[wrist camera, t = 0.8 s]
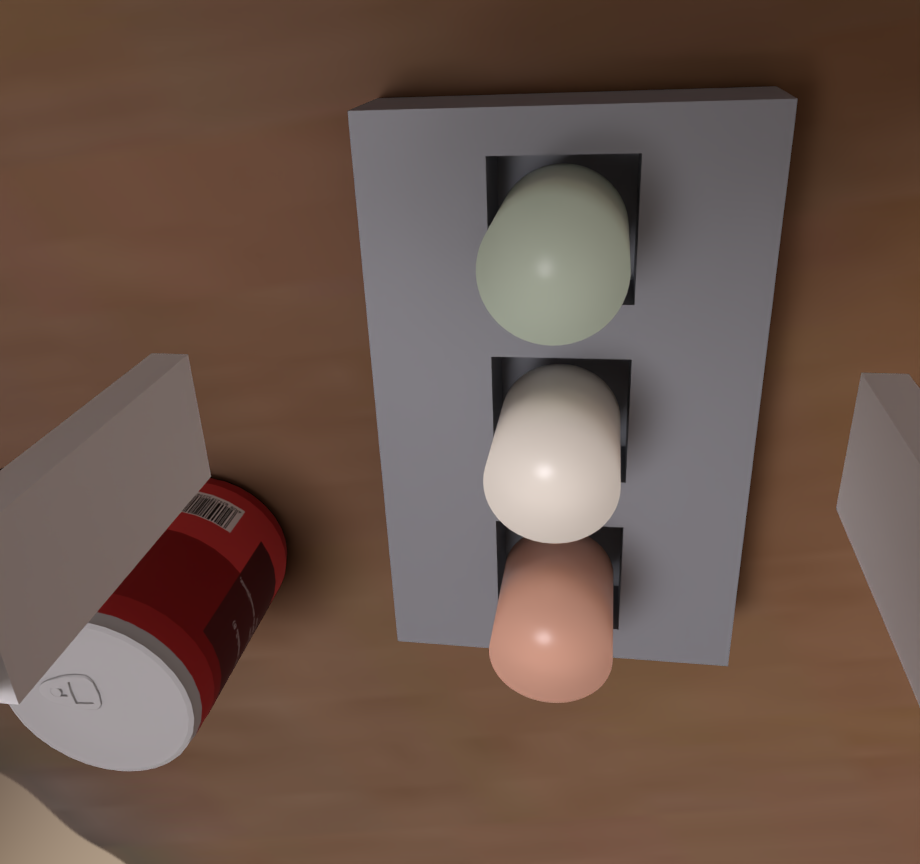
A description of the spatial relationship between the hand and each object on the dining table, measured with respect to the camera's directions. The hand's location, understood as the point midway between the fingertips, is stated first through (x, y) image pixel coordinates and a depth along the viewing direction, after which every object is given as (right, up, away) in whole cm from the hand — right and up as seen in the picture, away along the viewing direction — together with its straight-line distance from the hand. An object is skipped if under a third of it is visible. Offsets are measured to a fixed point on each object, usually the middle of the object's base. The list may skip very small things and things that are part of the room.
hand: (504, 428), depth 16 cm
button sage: (+3, +7, +13) cm, 15 cm away
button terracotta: (+3, -6, +19) cm, 20 cm away
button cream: (+3, 0, +16) cm, 16 cm away
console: (+4, +2, +19) cm, 20 cm away
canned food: (-13, -5, +26) cm, 30 cm away
